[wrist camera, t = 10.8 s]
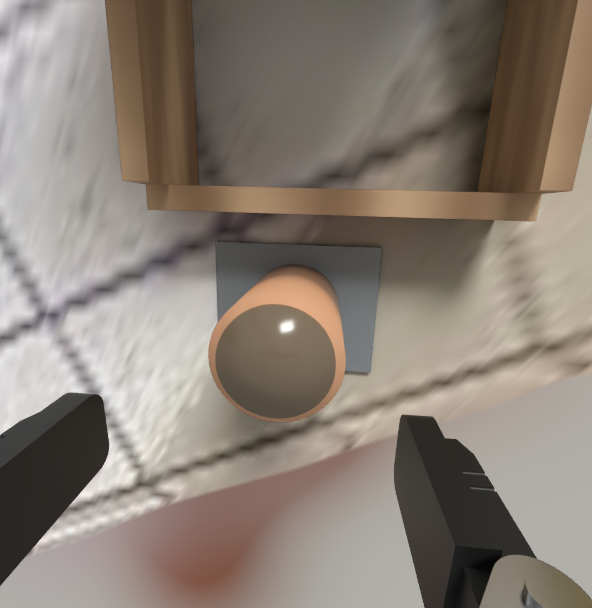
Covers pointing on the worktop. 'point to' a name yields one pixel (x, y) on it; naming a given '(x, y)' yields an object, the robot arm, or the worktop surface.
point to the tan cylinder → (281, 346)
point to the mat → (327, 260)
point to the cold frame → (360, 202)
